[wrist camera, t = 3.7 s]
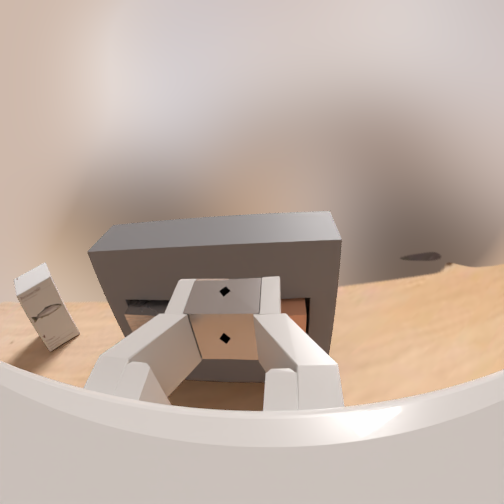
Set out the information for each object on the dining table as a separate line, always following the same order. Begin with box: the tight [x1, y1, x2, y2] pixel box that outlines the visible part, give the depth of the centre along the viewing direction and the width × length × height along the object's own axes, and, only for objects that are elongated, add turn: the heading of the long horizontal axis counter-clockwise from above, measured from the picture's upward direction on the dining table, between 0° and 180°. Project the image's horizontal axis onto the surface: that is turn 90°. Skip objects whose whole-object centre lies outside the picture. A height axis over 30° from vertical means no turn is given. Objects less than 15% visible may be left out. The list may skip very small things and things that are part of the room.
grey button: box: [124, 300, 170, 332], centre depth 29 cm, size 3×5×5 cm, turn 86°
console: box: [88, 211, 342, 382], centre depth 32 cm, size 6×24×20 cm, turn 86°
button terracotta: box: [281, 298, 307, 333], centre depth 28 cm, size 3×5×5 cm, turn 86°
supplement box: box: [14, 263, 80, 352], centre depth 40 cm, size 7×7×13 cm
